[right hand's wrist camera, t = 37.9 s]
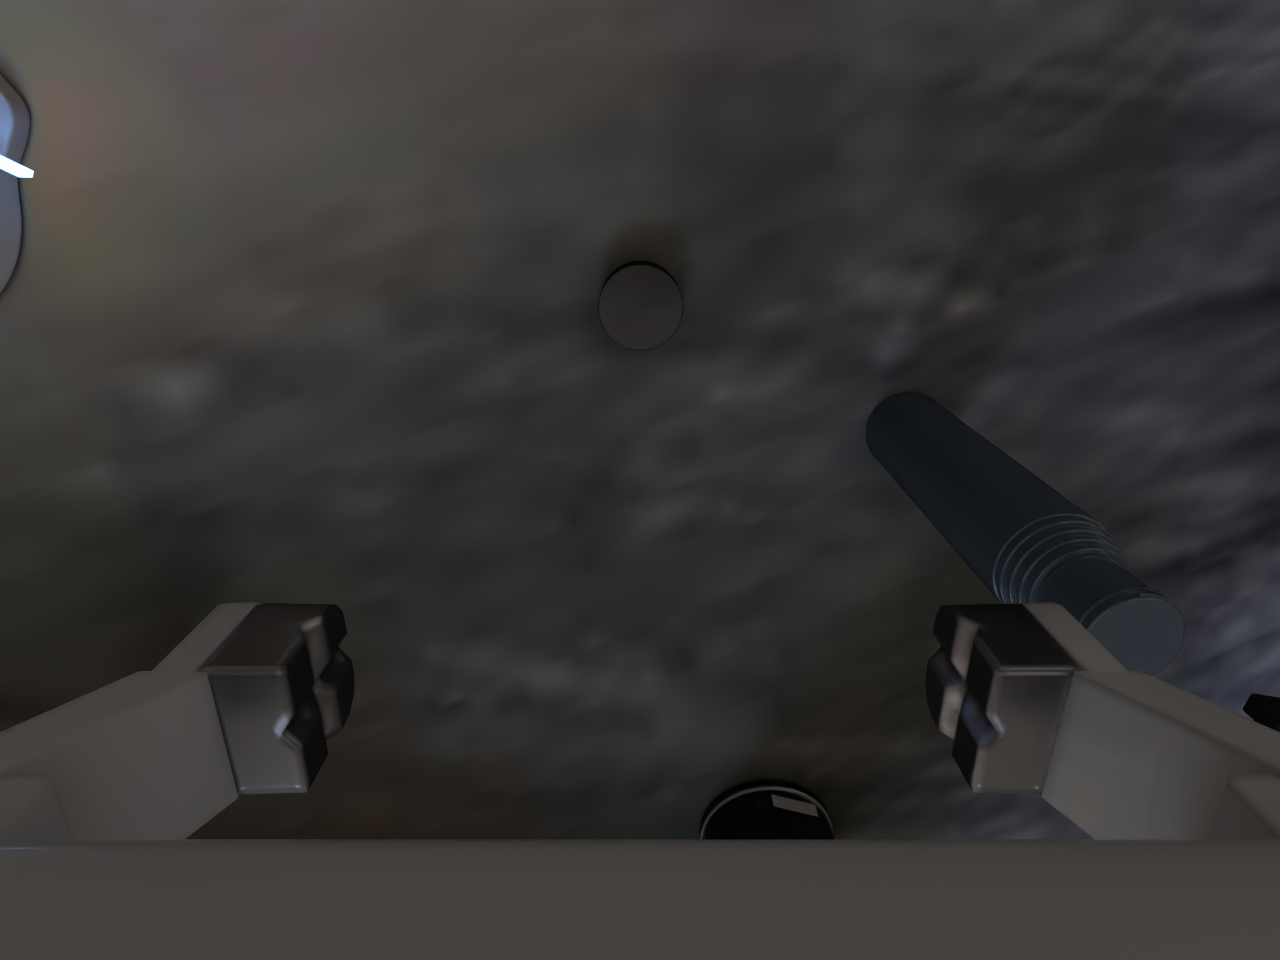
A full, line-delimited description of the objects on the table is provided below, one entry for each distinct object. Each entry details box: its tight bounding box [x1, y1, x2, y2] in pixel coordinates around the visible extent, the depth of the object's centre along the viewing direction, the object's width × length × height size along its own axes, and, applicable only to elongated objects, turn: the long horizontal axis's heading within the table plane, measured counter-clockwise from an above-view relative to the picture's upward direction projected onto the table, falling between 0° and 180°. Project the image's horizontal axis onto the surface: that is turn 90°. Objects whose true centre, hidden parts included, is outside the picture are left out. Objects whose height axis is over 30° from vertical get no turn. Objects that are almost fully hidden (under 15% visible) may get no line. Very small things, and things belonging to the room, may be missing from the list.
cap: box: [598, 261, 683, 350], centre depth 39 cm, size 4×4×2 cm
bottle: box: [866, 392, 1185, 676], centre depth 33 cm, size 4×4×21 cm
